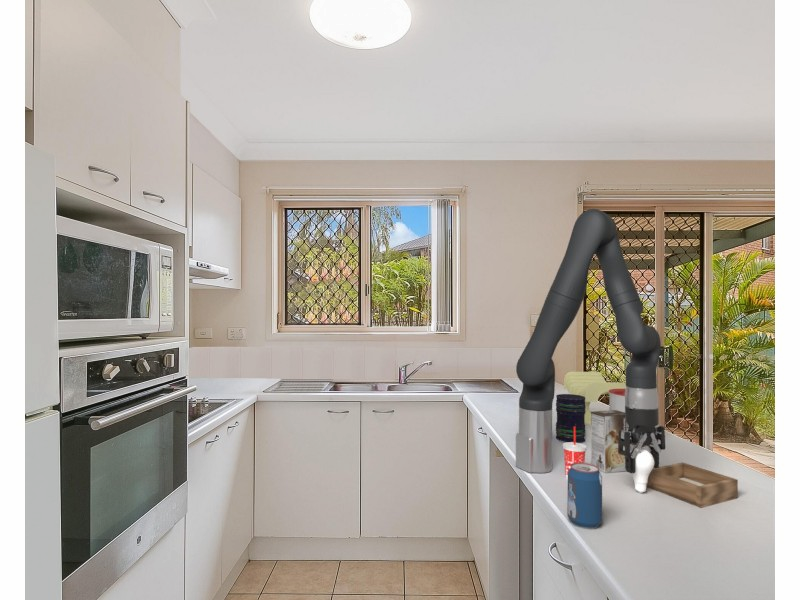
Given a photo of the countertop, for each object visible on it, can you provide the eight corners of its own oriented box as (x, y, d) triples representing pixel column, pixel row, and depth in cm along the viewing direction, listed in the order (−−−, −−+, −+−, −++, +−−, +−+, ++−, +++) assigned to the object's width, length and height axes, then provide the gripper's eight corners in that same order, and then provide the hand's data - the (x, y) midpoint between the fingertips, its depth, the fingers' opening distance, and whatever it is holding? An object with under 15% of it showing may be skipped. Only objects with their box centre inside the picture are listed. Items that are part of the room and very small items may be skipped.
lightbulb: (630, 486, 124) (630, 443, 124) (656, 492, 120) (656, 448, 121) (624, 493, 120) (624, 448, 120) (651, 499, 116) (651, 453, 116)
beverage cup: (588, 477, 130) (588, 425, 131) (584, 484, 125) (584, 430, 125) (565, 473, 134) (565, 422, 134) (560, 480, 128) (560, 427, 128)
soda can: (606, 522, 103) (607, 466, 103) (595, 533, 98) (595, 474, 98) (574, 513, 108) (575, 459, 108) (562, 523, 102) (562, 467, 103)
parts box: (700, 507, 111) (700, 488, 111) (647, 486, 124) (647, 469, 124) (737, 498, 117) (737, 479, 117) (682, 479, 130) (682, 462, 130)
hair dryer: (563, 411, 213) (563, 371, 214) (600, 412, 212) (600, 372, 213) (585, 428, 183) (585, 381, 184) (628, 429, 182) (628, 382, 183)
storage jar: (581, 436, 173) (581, 394, 173) (589, 443, 163) (589, 399, 163) (552, 435, 174) (553, 393, 174) (559, 442, 164) (559, 398, 164)
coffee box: (616, 463, 142) (617, 409, 142) (632, 471, 136) (632, 414, 136) (590, 466, 140) (590, 411, 140) (605, 473, 134) (605, 415, 134)
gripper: (647, 400, 127) (648, 461, 127) (608, 404, 121) (609, 469, 120) (674, 405, 120) (675, 470, 120) (634, 410, 114) (635, 479, 114)
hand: (642, 469), depth 120 cm, fingers open, 8 cm apart
